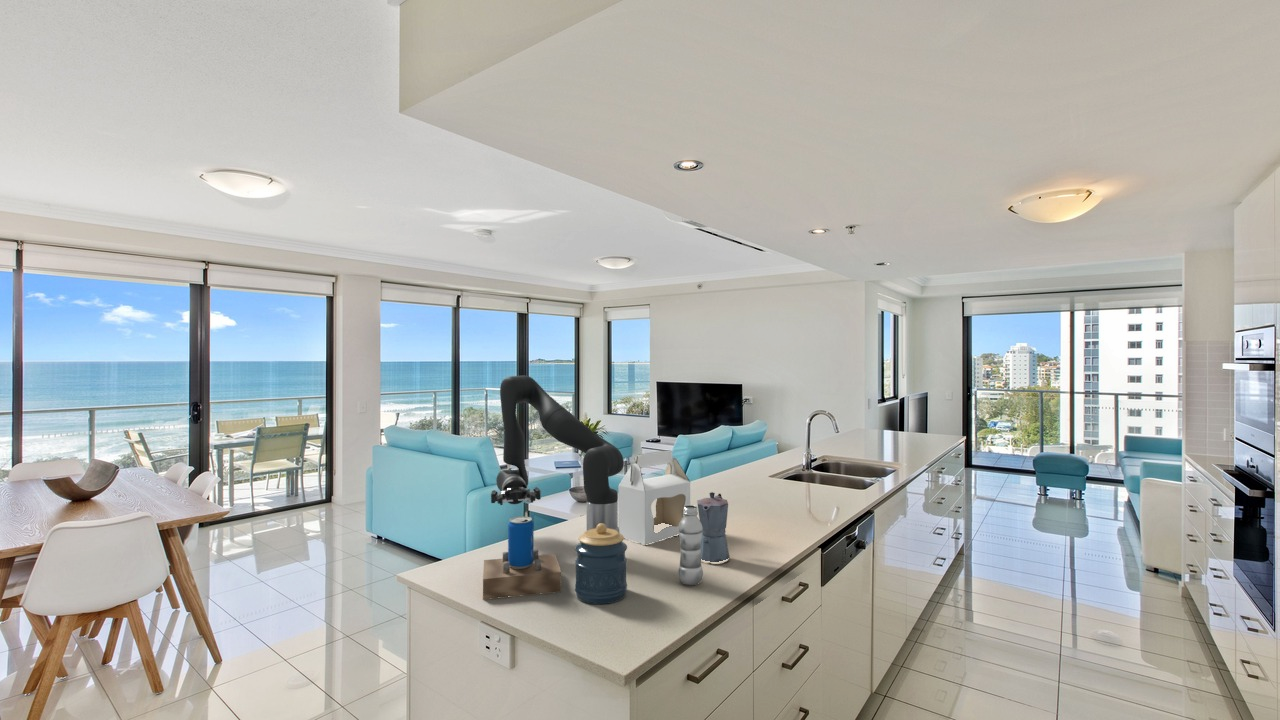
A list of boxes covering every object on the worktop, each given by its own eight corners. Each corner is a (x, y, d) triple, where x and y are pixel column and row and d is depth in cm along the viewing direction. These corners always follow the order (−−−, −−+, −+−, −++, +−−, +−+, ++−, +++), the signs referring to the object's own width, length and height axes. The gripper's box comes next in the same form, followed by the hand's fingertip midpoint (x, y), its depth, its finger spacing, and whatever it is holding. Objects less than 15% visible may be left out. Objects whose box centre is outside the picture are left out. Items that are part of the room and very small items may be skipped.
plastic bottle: (705, 580, 149) (705, 505, 149) (699, 589, 142) (699, 511, 143) (681, 577, 151) (681, 503, 151) (675, 586, 144) (675, 508, 145)
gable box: (663, 524, 202) (663, 447, 203) (691, 532, 193) (691, 451, 193) (617, 537, 187) (617, 453, 188) (644, 546, 178) (644, 458, 178)
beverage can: (528, 570, 142) (528, 523, 142) (504, 569, 143) (504, 522, 143) (537, 561, 148) (537, 516, 148) (514, 560, 149) (514, 515, 150)
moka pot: (690, 565, 160) (690, 495, 160) (705, 549, 174) (704, 485, 175) (723, 570, 156) (723, 498, 157) (735, 553, 171) (735, 487, 171)
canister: (607, 609, 131) (607, 533, 131) (564, 597, 138) (564, 525, 138) (637, 591, 142) (637, 521, 142) (595, 580, 149) (595, 514, 149)
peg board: (555, 572, 155) (555, 545, 155) (561, 591, 141) (561, 561, 141) (483, 578, 150) (484, 550, 150) (482, 599, 136) (483, 568, 136)
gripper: (490, 478, 173) (490, 488, 158) (537, 475, 177) (541, 485, 161) (491, 503, 173) (491, 515, 157) (537, 499, 177) (542, 511, 161)
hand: (516, 500), depth 159 cm, fingers open, 8 cm apart
